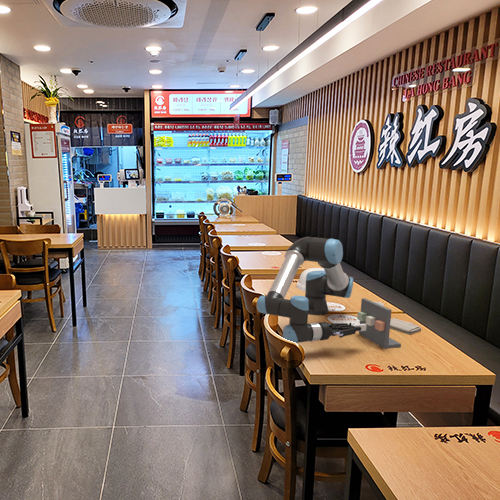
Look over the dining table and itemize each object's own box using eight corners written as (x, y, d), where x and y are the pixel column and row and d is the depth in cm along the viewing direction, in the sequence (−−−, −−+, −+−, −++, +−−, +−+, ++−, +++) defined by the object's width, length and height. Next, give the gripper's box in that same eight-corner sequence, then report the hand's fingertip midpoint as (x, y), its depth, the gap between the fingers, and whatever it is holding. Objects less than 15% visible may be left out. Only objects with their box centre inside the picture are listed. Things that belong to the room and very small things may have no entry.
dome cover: (291, 283, 320) (292, 264, 318) (331, 283, 325) (332, 264, 323) (303, 294, 289) (304, 273, 287) (346, 294, 294) (348, 273, 291)
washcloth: (410, 336, 217) (410, 330, 217) (378, 326, 231) (379, 320, 230) (422, 331, 225) (423, 325, 224) (391, 322, 238) (391, 316, 238)
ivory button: (365, 323, 206) (366, 316, 206) (371, 322, 207) (372, 315, 207) (370, 325, 203) (370, 318, 202) (376, 325, 204) (377, 317, 203)
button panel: (358, 333, 216) (361, 298, 213) (374, 332, 219) (377, 297, 216) (384, 348, 197) (387, 310, 195) (400, 346, 200) (404, 308, 198)
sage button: (357, 319, 213) (357, 311, 212) (363, 318, 214) (363, 311, 213) (361, 321, 209) (362, 314, 209) (367, 320, 211) (368, 313, 210)
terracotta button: (374, 328, 200) (375, 320, 199) (381, 327, 201) (381, 320, 200) (379, 330, 196) (380, 323, 196) (386, 330, 198) (386, 322, 197)
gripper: (310, 334, 194) (356, 330, 202) (325, 345, 182) (373, 340, 190) (311, 318, 193) (357, 314, 201) (326, 327, 181) (374, 323, 189)
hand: (365, 327), depth 195 cm, fingers closed
